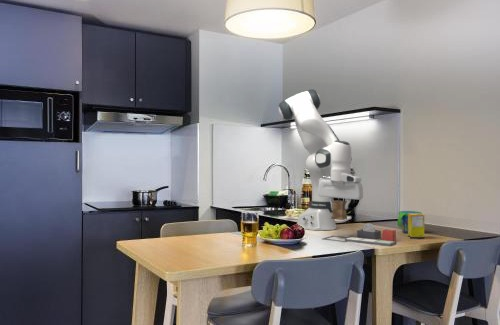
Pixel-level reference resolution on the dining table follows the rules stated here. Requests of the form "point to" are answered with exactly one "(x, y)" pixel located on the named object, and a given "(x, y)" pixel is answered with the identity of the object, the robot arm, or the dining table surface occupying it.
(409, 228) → the supplement box
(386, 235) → the red die
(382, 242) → the game track
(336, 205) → the brown wooden block
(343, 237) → the pad
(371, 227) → the dome button
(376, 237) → the dome housing
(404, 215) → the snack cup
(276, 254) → the dining table surface
